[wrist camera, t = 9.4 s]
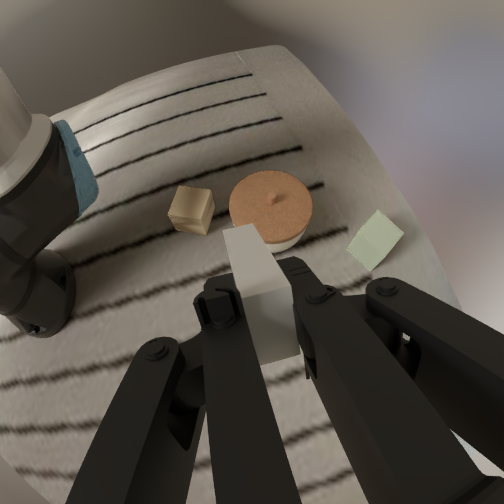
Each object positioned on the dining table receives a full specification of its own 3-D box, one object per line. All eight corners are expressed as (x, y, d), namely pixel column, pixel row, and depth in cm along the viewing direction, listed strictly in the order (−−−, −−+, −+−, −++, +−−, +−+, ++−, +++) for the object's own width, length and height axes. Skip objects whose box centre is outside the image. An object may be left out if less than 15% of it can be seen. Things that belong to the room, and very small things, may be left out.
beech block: (176, 230, 45) (167, 214, 40) (185, 203, 46) (178, 185, 42) (206, 235, 44) (200, 219, 39) (215, 207, 46) (210, 189, 41)
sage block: (346, 249, 43) (358, 231, 37) (365, 228, 44) (377, 209, 38) (370, 271, 41) (385, 256, 36) (388, 250, 42) (404, 233, 37)
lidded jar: (261, 189, 47) (261, 150, 38) (317, 223, 44) (330, 188, 36) (218, 237, 44) (209, 204, 35) (278, 278, 41) (284, 252, 33)
